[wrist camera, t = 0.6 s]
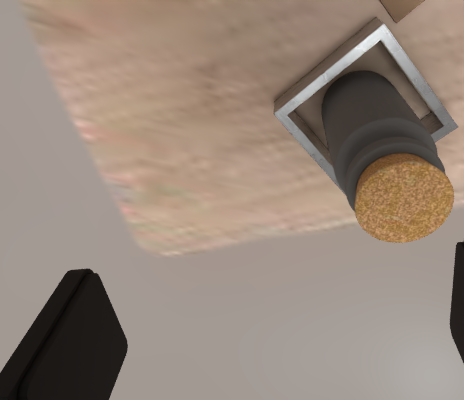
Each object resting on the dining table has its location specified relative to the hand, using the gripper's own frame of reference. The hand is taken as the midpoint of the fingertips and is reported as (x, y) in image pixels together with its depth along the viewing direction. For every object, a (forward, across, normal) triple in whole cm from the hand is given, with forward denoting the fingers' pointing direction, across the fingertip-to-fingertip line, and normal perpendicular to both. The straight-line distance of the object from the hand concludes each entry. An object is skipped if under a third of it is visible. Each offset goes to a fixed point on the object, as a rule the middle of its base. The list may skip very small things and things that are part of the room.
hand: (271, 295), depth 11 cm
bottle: (+26, -6, +4) cm, 27 cm away
